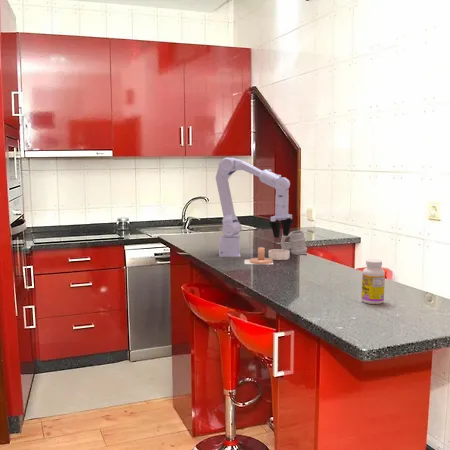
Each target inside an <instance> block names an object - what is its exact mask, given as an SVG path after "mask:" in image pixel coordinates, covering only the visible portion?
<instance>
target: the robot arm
mask: <svg viewBox="0 0 450 450" xmlns="http://www.w3.org/2000/svg"><path fill="white" fill-rule="evenodd" d="M237 171H244V172H247V173H249V174H251V175H254V176H256V177H258V179H259V181H260V182H261V183H263V184H265V185H268V186H269V187H271V188H274V189H275V197H274V200H275V202H274V206H275V207H274V215H273V216H270V220H269V222H268V223H269V225H270V228H271V230H272V233H273V238H277V239H279V238H280V236H281V235H280V234H281V232H280V231H281V228H282V230H283V231H282V235H283V236H288V234H290V232H291V231H290V230H291V228H292V225H293V223H294V219H293V214H290V213H289V200H290V199H289V197H290V195H289V188H290V186H291V181H290V180H289V179H288V178H287V177H285V176H284V177H282V174H277V173H275V172H272V171H273V170H272V169H270V168H269V169H263V170H261V169H260V168H258V167H257V166H254V165H252V164H250V163H248V162H247V161H244V160H242V159H238V158H237V157H224V158H222V160H220V162H219V163H218V168H217V172H216V175H215V181H216V186H217V192H218V197H219V201H220V206H221V212H222V215H223V217H222V220H221V221H222V225H221V226H222V227H221V231H222V234H223V236H219V237H218V238H219V239H218V257H224V258H225V257H226V258H227V257H229V258H231V257H232V258H235V257H239V258H240V257H241V253H240V252H241V251H240V244H241V240H240V239H241V238H240V236H241V235H240V232H241V231H242V224H241V223H240V221H239V220H238V216H237V215H236V213H235V209H234V208H235V207H234V205H233V198H232V194H231V193H232V192H231V189H230V188H231V187H230V185H229V179H230V177H231V176H232V175H233V174H234V173H235V172H237Z"/></svg>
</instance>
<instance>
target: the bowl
mask: <svg viewBox="0 0 450 450" xmlns="http://www.w3.org/2000/svg"><path fill="white" fill-rule="evenodd" d="M290 253H291V251H290V249H289V250H283V249H282V248H281V249H279V248H276V249H275V248H274V249H268V258H270V259H272V260H274V261H285V260H286V261H287V260H289V259H290Z"/></svg>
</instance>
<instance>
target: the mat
mask: <svg viewBox="0 0 450 450" xmlns="http://www.w3.org/2000/svg"><path fill="white" fill-rule="evenodd" d="M244 265H255V264H254V263H250V259H244ZM269 265H274V261H273V262H272V263H270V264H269Z"/></svg>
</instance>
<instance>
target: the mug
mask: <svg viewBox="0 0 450 450" xmlns="http://www.w3.org/2000/svg"><path fill="white" fill-rule="evenodd" d="M282 232H283V229H282ZM287 238H289V242H290V244H288V246H287V245H286V244H285V241H286V239H287ZM280 246H281V249H283V250H289V252H290V253H291V255H297V256H301V255H305V254H307V253H308V247H307V244H306V237H305V232H304V231H303V230H294V231H290V232H289V234H288V236H283V234H282V236H281V240H280Z"/></svg>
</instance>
